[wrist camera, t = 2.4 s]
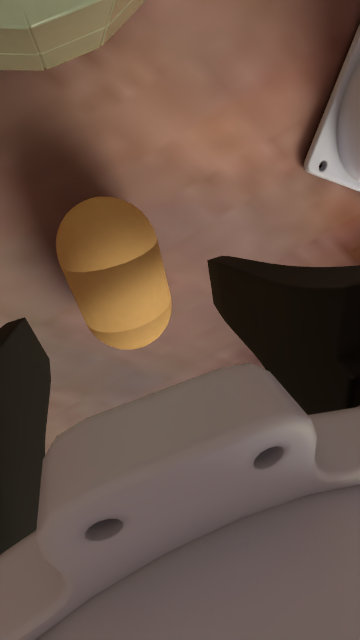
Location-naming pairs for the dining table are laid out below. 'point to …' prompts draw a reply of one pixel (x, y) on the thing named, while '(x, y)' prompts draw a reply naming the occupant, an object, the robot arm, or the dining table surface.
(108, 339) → the potato
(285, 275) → the robot arm
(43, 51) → the celadon bowl
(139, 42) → the dining table surface
